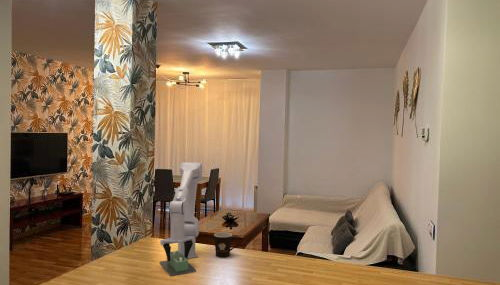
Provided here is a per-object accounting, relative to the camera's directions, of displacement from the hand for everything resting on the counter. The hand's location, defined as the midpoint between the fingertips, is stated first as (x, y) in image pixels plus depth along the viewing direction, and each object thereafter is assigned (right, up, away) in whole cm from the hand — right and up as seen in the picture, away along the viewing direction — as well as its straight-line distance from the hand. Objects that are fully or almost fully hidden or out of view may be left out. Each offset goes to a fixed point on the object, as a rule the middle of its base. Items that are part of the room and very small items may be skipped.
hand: (177, 259), depth 169 cm
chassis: (0, -4, 0) cm, 4 cm away
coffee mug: (+20, -4, +16) cm, 26 cm away
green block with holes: (0, -3, 0) cm, 3 cm away
